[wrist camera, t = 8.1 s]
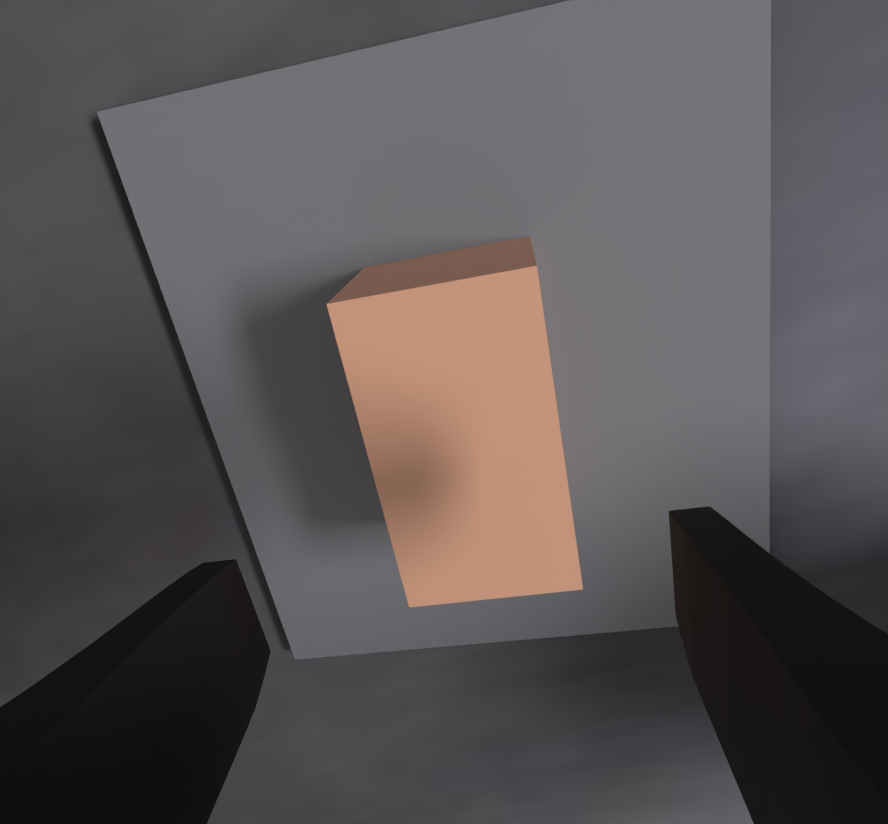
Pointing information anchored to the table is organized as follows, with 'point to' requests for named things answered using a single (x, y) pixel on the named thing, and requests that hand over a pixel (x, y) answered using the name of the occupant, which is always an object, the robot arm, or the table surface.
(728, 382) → the mat
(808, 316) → the table surface
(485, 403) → the light orange rectangular block
